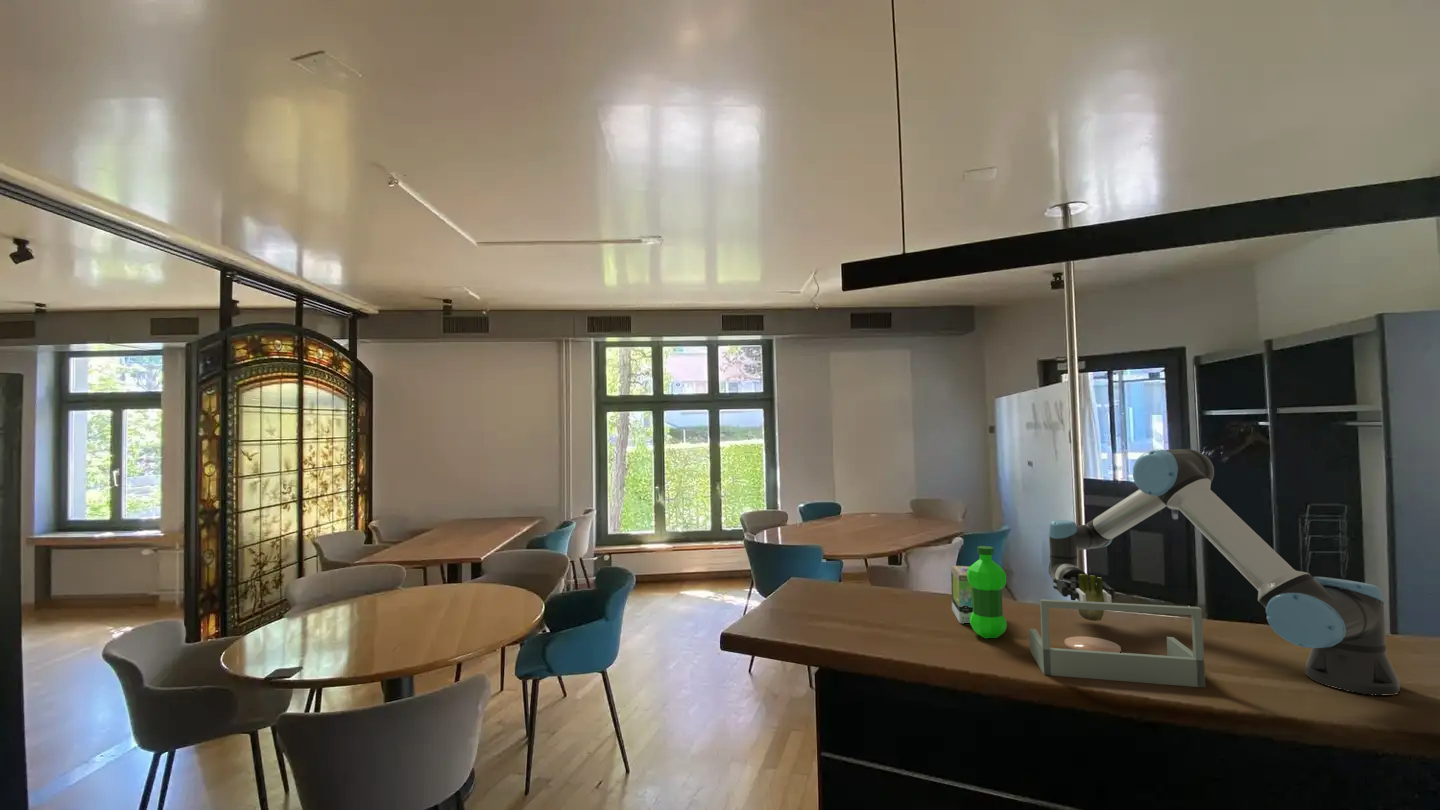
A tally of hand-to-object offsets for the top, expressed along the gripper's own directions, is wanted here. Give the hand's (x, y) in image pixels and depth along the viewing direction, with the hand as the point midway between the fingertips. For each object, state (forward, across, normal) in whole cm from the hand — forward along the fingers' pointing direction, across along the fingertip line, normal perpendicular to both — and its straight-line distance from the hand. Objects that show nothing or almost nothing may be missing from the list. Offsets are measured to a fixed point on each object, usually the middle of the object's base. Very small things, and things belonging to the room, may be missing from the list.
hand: (1097, 600), depth 164 cm
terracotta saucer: (-6, 0, -14) cm, 15 cm away
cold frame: (+9, 0, -14) cm, 17 cm away
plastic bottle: (-11, +25, -14) cm, 31 cm away
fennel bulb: (-5, 0, -7) cm, 9 cm away
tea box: (-28, +28, -14) cm, 42 cm away
